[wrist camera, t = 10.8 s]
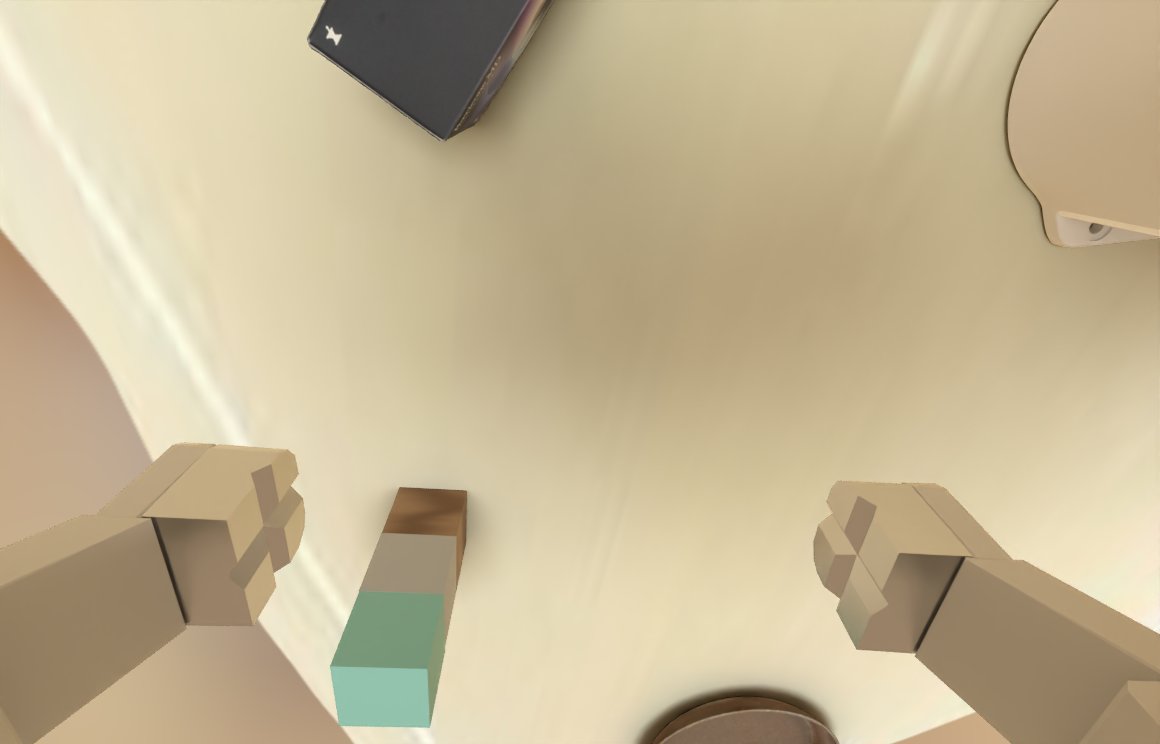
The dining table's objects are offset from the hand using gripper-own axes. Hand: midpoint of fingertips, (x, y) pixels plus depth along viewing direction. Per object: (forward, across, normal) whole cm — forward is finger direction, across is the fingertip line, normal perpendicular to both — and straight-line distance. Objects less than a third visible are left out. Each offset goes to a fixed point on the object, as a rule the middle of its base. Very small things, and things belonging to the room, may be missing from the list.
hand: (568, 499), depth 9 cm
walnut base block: (+28, +9, +25) cm, 39 cm away
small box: (+29, +5, -9) cm, 30 cm away
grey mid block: (+23, +8, +25) cm, 35 cm away
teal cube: (+18, +8, +25) cm, 32 cm away
